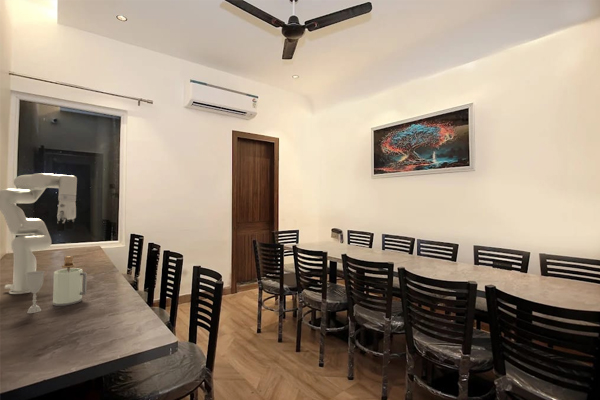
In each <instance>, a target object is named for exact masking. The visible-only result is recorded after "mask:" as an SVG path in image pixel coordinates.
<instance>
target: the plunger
mask: <svg viewBox="0 0 600 400" xmlns="http://www.w3.org/2000/svg"><path fill="white" fill-rule="evenodd" d="M63 259H64V261H63V262H64V263H63V264H62V265H61V268H62V269H67V273H70V269H72V268H76V263H74V256H73V255H66V256H64V258H63Z"/></svg>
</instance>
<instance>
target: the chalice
mask: <svg viewBox="0 0 600 400" xmlns="http://www.w3.org/2000/svg"><path fill="white" fill-rule="evenodd" d="M45 272H46V271H45V270H36V271H33V272H28V273H25V274H26V276H27V280H26V284H27V287H28V289H29V290H30V293H32V295H33V296H32V300H31V301H32V305H31V306H29V308H28V309H27V312H26V313H27V314H36V313H39V312H41V311H42V308H40V306H39V305H37V301H38V300H37V298H38V296H37V293H38V292H39V291H40V290H41V288H42V286H43V284H44V275H45Z"/></svg>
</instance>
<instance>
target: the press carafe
mask: <svg viewBox="0 0 600 400" xmlns="http://www.w3.org/2000/svg"><path fill="white" fill-rule="evenodd" d="M87 277H88V273H87V272H83V268H78V267H77V268H76V267H72V268H70V273H67V268H62V269H59V270H56V271H53V287H52V288H53V289H52V290H53V291H52V306H54V307H55V306H56V307H65V306H71V305H75V304H79V303H80V302H82V301H83V296H84V295H86V294H87V279H88V278H87Z"/></svg>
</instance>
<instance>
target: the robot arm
mask: <svg viewBox="0 0 600 400" xmlns="http://www.w3.org/2000/svg"><path fill="white" fill-rule="evenodd" d="M77 184H78V178H77V176H75V175H67V174H57V173H55V174H54V173H45V172H44V173H42V172H41V173H33V174H23V175H19V176H16V177H15V178H14V180H13V185H14V186H15V188H3V189H1V190H0V212H1V214H2V215H3V217H4V220H5V222H6V225H7V227H8V230H9V232H10V234H12V235H13V236H16V237H14V238H13V240H12V242H11V248H12V252H13V271H12V272H13V274H12V275H13V276H12V284H5V285H4V290H5V289H6V290H8V289H10V290H9V291H8V294H10V295H22V294H28V293H31V292H30V290H29V289H28V287H27V284H26V280H27V276H26V274H25V273H28V272H33V271H37V257H36V255H34V253H33V252H37V251H38V252H39V251H44V250H47V249H48V250H49V248H51V246H52V238H51V235H50V233H49V231H48V227H47V225H46V223H45V221H43V220H42V219H40V218H37V217H36V218H35V217H34V218H33V217H29V218H28V217H26V215H25V212H24V211H23V209H22V208H21V207H19V206H18V205H16V204H34V203H35V202H37V201H38V199H39V198H40V197H41V196H42V195H43V193H44V192H45V190H46V189H48V188H49V189H58V196H57V197H58V198H57V199H58V200H57V201H58V207H57V215H56V217H57V218H56V220H57V222H56V223H57V227H56V230H57V231H58V232H65V230H66V229H67V230H73V229H74V228H75V227H74V226H75V219H76V218H77V206H76V205H77V203H76V201H77V190H78V189H77V186H78V185H77ZM65 222H66V223H65Z"/></svg>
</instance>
